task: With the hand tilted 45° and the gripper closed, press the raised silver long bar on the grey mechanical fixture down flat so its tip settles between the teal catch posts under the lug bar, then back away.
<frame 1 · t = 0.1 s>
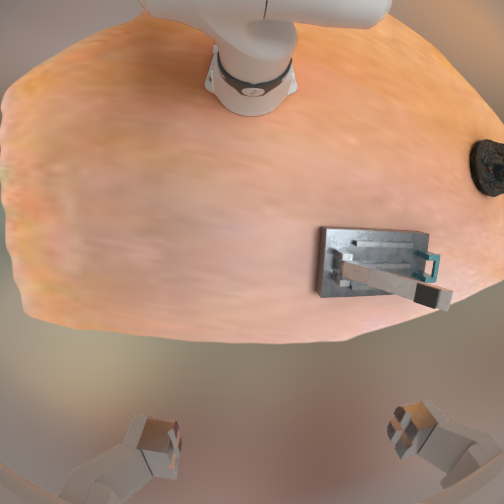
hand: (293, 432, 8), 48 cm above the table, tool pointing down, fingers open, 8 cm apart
silver long bar: (390, 283, 41), point 16 cm above the table, hinge at 60.0°
beer stein: (486, 166, 54), on the table
grey mechanical fixture: (372, 259, 57), on the table
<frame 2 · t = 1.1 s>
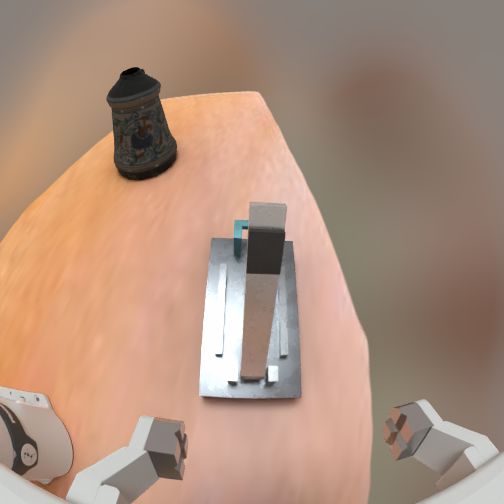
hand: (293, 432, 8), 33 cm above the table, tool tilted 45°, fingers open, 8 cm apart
silver long bar: (258, 314, 27), point 16 cm above the table, hinge at 60.0°
beer stein: (145, 157, 65), on the table
grey mechanical fixture: (250, 319, 44), on the table
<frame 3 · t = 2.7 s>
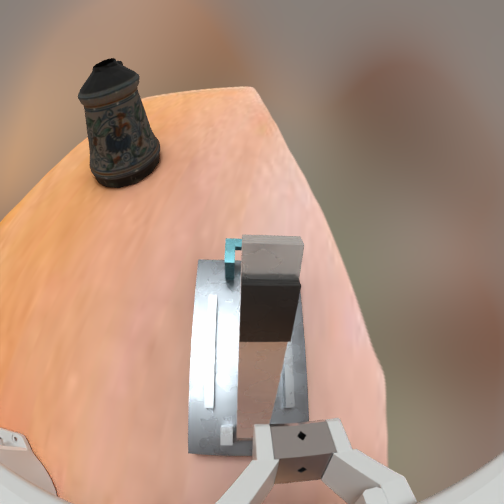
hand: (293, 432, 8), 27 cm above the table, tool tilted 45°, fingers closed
silver long bar: (258, 382, 19), point 16 cm above the table, hinge at 60.0°
beer stein: (125, 161, 56), on the table
grey mechanical fixture: (247, 358, 35), on the table
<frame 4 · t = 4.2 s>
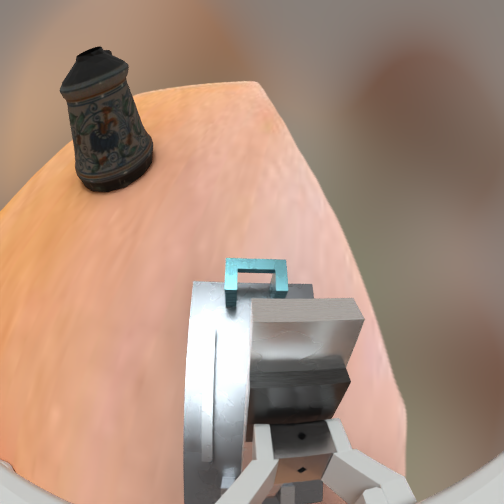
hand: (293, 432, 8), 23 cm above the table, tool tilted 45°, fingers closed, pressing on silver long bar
silver long bar: (269, 462, 12), point 16 cm above the table, hinge at 58.9°, touching gripper
beer stein: (115, 162, 49), on the table
grey mechanical fixture: (251, 398, 28), on the table
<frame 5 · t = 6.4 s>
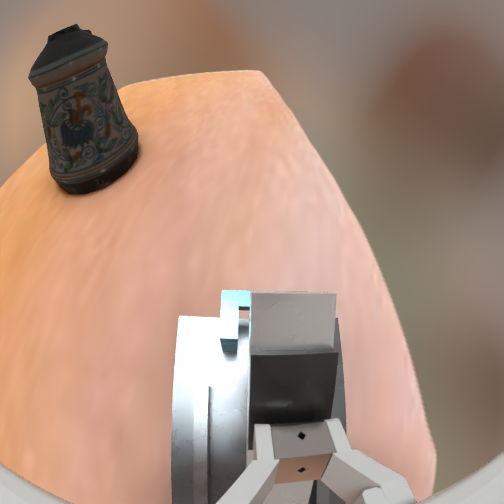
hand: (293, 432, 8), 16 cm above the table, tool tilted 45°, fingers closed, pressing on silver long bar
beer stein: (96, 159, 40), on the table
grey mechanical fixture: (257, 459, 19), on the table
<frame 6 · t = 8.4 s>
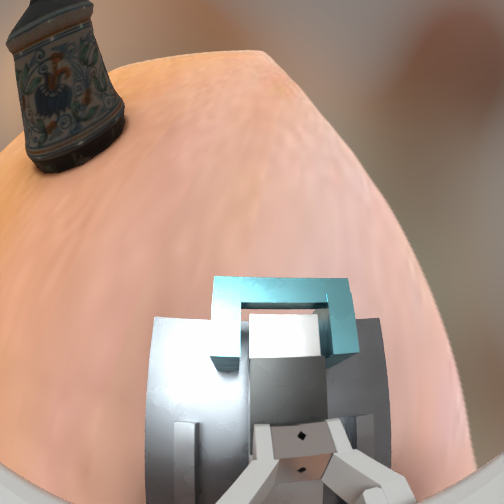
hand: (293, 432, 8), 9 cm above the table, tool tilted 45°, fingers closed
beer stein: (78, 136, 33), on the table
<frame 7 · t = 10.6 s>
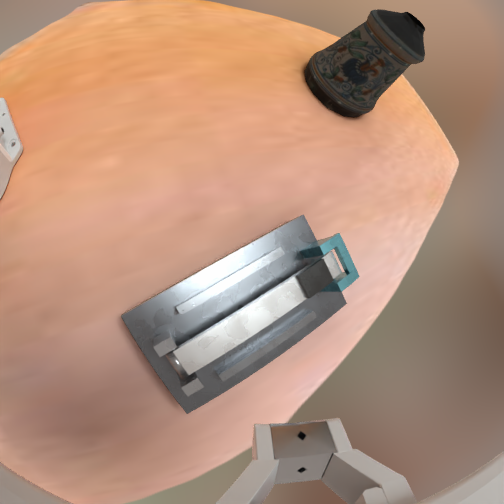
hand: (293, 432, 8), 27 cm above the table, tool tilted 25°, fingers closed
silver long bar: (263, 312, 29), point 7 cm above the table, hinge at 0.0°
beer stein: (337, 85, 49), on the table
grey mechanical fixture: (238, 309, 36), on the table
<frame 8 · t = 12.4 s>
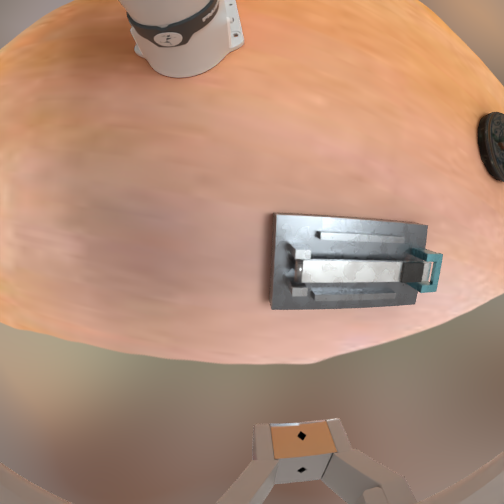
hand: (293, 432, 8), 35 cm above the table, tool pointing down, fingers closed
silver long bar: (371, 271, 36), point 7 cm above the table, hinge at 0.0°
beer stein: (497, 145, 40), on the table
grey mechanical fixture: (348, 259, 43), on the table
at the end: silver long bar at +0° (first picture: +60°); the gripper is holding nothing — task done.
